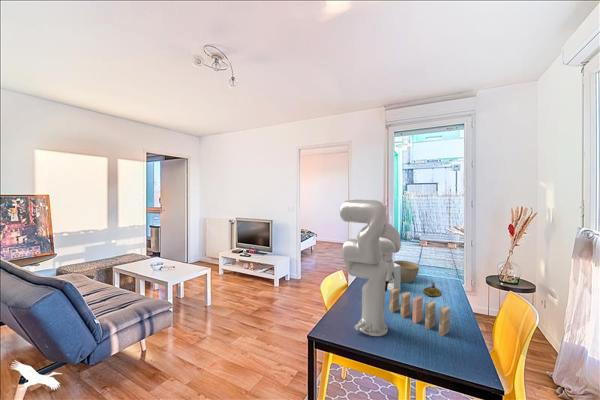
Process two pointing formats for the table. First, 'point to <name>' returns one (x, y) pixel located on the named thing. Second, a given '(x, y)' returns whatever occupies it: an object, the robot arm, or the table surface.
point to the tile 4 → (444, 320)
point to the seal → (432, 291)
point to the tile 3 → (430, 315)
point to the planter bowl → (408, 270)
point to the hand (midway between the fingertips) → (383, 291)
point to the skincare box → (396, 278)
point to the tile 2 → (417, 309)
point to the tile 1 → (405, 304)
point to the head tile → (394, 300)
